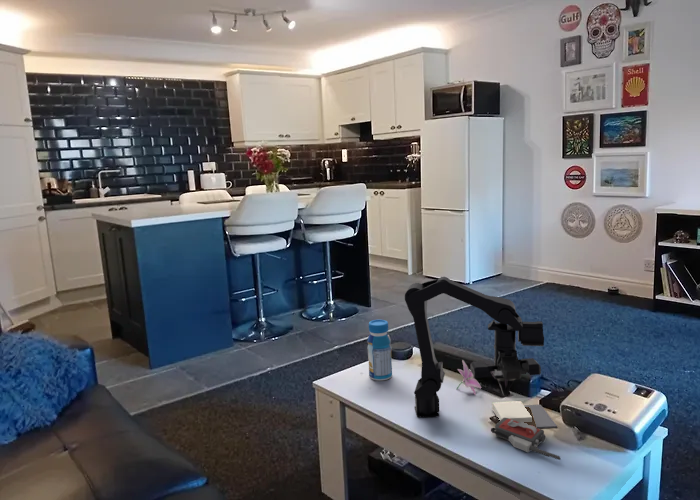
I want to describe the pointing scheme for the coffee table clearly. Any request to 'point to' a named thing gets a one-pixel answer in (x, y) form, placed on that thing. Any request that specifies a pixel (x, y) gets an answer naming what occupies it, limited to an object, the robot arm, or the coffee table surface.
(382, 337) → the beverage bottle
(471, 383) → the lily
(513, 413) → the tile
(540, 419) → the mat
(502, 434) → the walkie-talkie
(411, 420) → the coffee table surface
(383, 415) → the coffee table surface
